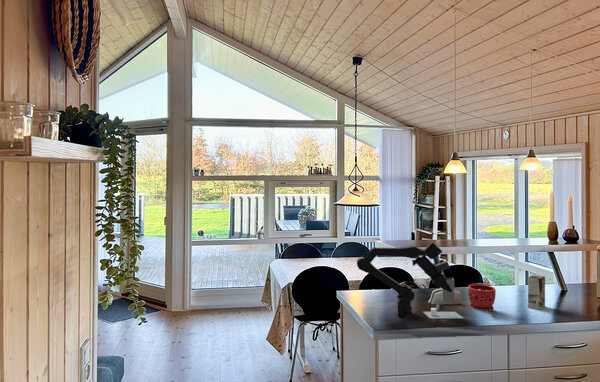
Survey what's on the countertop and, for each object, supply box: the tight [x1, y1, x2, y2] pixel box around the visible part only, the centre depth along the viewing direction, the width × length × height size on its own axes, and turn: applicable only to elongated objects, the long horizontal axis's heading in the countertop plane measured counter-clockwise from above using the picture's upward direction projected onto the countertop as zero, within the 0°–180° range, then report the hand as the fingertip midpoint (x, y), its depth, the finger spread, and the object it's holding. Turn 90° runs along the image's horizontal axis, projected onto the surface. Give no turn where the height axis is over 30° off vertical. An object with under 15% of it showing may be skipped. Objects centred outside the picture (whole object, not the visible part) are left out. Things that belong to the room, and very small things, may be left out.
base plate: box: [423, 307, 464, 319], centre depth 202 cm, size 16×11×4 cm
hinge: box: [427, 287, 462, 305], centre depth 229 cm, size 17×5×10 cm, turn 99°
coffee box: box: [527, 275, 546, 311], centre depth 223 cm, size 9×6×16 cm
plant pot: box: [467, 284, 497, 313], centre depth 217 cm, size 13×13×12 cm
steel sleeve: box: [442, 277, 455, 302], centre depth 203 cm, size 5×5×10 cm
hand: (451, 290), depth 202 cm, fingers closed on steel sleeve, 5 cm apart
